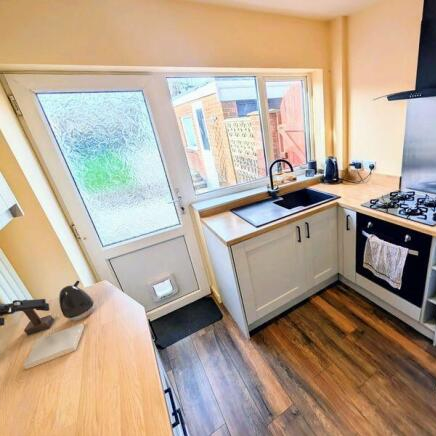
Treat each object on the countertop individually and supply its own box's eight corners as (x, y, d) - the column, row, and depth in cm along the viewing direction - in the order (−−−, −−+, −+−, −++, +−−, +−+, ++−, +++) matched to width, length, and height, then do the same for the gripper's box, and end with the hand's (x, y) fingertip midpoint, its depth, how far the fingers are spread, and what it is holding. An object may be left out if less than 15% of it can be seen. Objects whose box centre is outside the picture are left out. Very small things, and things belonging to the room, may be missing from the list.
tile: (26, 369, 84) (22, 365, 83) (40, 342, 94) (37, 339, 93) (75, 350, 89) (73, 346, 88) (84, 326, 99) (82, 323, 98)
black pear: (103, 305, 109) (88, 278, 103) (83, 324, 100) (65, 296, 93) (83, 305, 111) (67, 278, 104) (62, 324, 101) (42, 296, 95)
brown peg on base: (27, 335, 98) (6, 309, 92) (33, 326, 102) (13, 301, 96) (49, 328, 100) (30, 302, 94) (54, 319, 104) (36, 294, 98)
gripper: (-82, 341, 71) (-17, 338, 89) (28, 306, 79) (66, 310, 98) (-81, 315, 73) (-18, 318, 92) (26, 284, 82) (64, 292, 101)
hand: (26, 314), depth 95 cm, fingers open, 13 cm apart
